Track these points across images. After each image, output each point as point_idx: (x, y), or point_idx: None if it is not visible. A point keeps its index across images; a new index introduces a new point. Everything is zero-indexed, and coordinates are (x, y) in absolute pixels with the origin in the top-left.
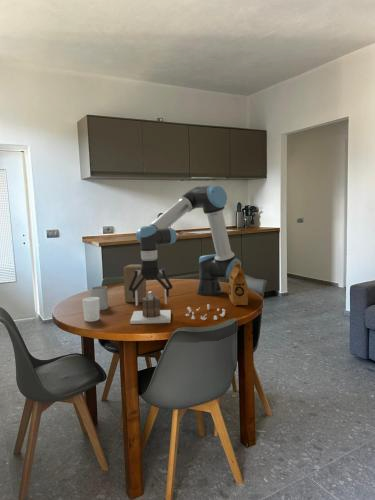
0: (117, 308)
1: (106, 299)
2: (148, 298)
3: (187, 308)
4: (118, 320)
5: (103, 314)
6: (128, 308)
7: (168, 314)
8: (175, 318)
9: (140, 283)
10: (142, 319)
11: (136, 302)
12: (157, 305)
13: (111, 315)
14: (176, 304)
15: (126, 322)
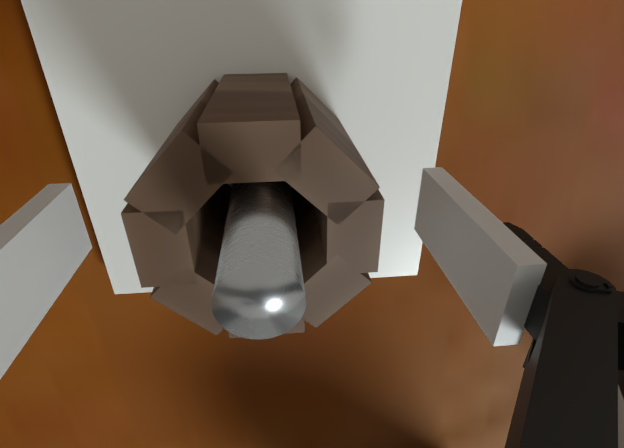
0: (508, 372)
1: (618, 421)
2: (291, 225)
3: None
4: (542, 106)
5: (617, 263)
6: (442, 371)
7: (93, 161)
8: (26, 120)
9: (536, 425)
10: (338, 1)
11: (446, 182)
12: (165, 144)
13: (570, 239)
14: (133, 439)
15: (483, 34)
